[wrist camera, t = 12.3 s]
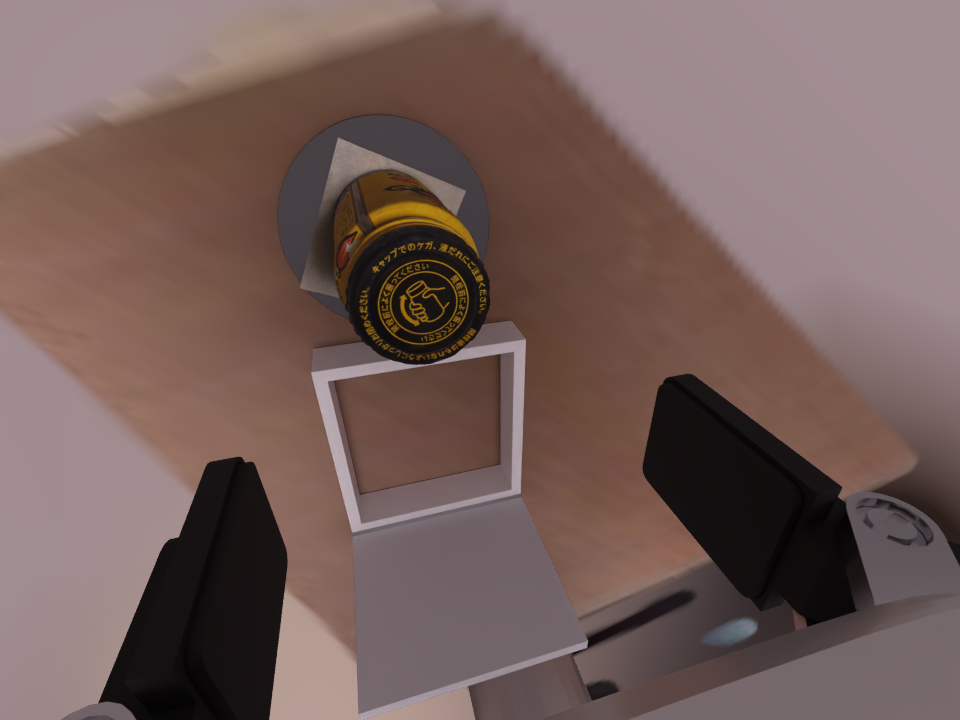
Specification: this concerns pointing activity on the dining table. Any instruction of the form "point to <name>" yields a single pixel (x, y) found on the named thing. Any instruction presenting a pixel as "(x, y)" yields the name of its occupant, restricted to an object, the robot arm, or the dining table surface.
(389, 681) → the case
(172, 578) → the robot arm
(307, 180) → the mat
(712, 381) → the dining table surface
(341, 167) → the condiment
